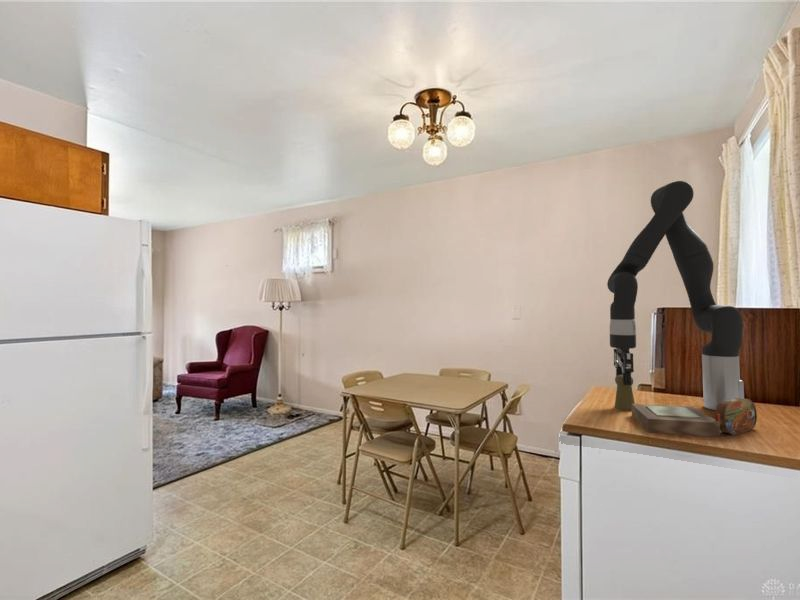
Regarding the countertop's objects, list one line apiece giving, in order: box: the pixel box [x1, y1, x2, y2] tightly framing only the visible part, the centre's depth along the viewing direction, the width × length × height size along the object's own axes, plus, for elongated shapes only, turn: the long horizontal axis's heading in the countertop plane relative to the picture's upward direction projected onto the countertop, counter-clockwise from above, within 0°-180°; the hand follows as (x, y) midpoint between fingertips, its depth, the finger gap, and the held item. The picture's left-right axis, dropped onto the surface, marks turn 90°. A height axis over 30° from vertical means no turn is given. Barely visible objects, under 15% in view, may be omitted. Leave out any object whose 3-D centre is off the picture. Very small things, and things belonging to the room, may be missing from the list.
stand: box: [631, 403, 721, 438], centre depth 108 cm, size 16×16×4 cm
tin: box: [714, 398, 758, 436], centre depth 102 cm, size 15×3×8 cm, turn 114°
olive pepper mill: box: [614, 375, 636, 412], centre depth 125 cm, size 6×6×11 cm
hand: (623, 382), depth 125 cm, fingers open, 8 cm apart
